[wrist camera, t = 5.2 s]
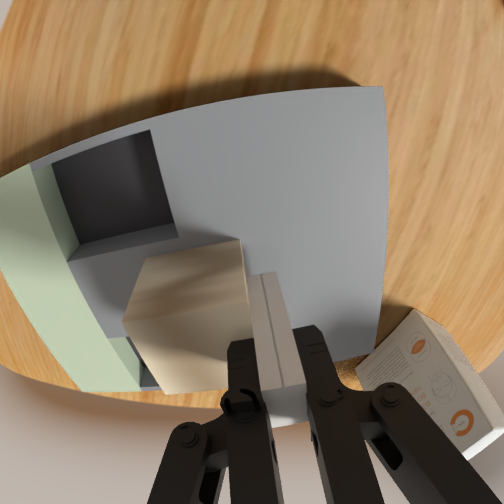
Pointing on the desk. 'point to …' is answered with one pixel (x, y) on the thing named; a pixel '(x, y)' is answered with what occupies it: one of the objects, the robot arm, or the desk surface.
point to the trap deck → (204, 220)
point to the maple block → (190, 315)
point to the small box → (436, 381)
